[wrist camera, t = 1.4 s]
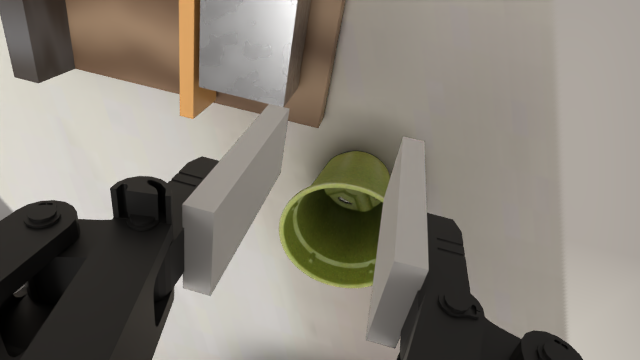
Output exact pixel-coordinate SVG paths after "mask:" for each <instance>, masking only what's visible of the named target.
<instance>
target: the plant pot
mask: <svg viewBox="0 0 640 360" xmlns="http://www.w3.org/2000/svg"><path fill="white" fill-rule="evenodd" d="M389 180H390V175H389V172H388V170H387V168H386V167H385V165H384V164H383V163H382V162H381V161H380V160H379V159H378V158H376V157H374V156H373V155H371V154H368V153H365V152H360V151H352V152H347V153H343V154H340V155H337V156H335V157H334V158H332V159H331V160H330V161H329V162H328V164H327V165H326V166H325V168H324V169H323V170H322V172H321V173H320V175H319V176H318V177H317V179H316V180H315V181H314V182H313V184H312V185H311V186H310V187H307V188H305V189H303V190H302V191H300V192H299V193H297V194H296V195H295V196H294V197H293V198H292V199H291V200H290V201H289V202H288V204H287V205H286V207H285V208H284V210H283V212H282V215H281V218H280V222H279V236H280V241H281V244H282V246H283V249H284V251H285V253H286V254H287V256H288V257H289V259H290V260H291V261H292V263H293V264H294V265H295V266H296V267H297V268H298V269H300V270H301V271H302V272H303V273H305V274H306V275H308V276H309V277H311V278H313V279H315V280H317V281H319V282H322V283H325V284H327V285H331V286H335V287H342V288H363V287H369V286H372V285H373V279H374V271H375V263H376V255H377V248H378V240H379V232H380V224H381V216H382V208H383V201H384V197H385V193H386V190H387V187H388V184H389ZM339 197H342V198H343V199H345V200H347V201H349V202H350V203H352V204H347V203H344V202H342V201H340V200H339ZM375 198H376V199H375Z"/></svg>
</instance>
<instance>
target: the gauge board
mask: <svg viewBox="0 0 640 360" xmlns="http://www.w3.org/2000/svg"><path fill="white" fill-rule="evenodd" d="M344 6H345V0H311V3H310V10H309V17H308V23H307V30H306V37H305V44H304V50H303V57H302V64H301V71H300V77H299V84H298V89H297V90H296V92H295V93H294V94H293V96H292V97H291V98H290V100H289V101H288V102H287V103H286V105H285V106H284V107H285V108H289V116H288V121H291V122H295V123H299V124H303V125H308V126H312V127H316V128H319V126H320V124H321V122H322V120H323V116H324V111H325V106H326V100H327V95H328V90H329V85H330V79H331V74H332V69H333V64H334V58H335V53H336V48H337V42H338V37H339V32H340V27H341V21H342V16H343V11H344ZM0 15H1V20H2V24H3V28H4V33H5V37H6V42H7V46H8V50H9V55H10V59H11V64H12V68H13V72H14V77H16V78H20V79H24V80H28V81H32V82H36V83H40V82H43V81H45V80H48V79H50V78H53V77H55V76H58V75H60V74H63V73H65V72H68V71H70V70H73V69H79V70H83V71H87V72H91V73H95V74H100V75H104V76H108V77H112V78H116V79H120V80H124V81H128V82H132V83H136V84H140V85H144V86H148V87H153V88H157V89H161V90H165V91H169V92H173V93H177V94H180V67H179V0H0ZM214 103H218V104H222V105H226V106H230V107H234V108H238V109H242V110H246V111H250V112H255V113H259V114H261V113H262V112H263V110H264V109H265V108H266V107H267V106H268V105H269V104H267V103H263V102H259V101H255V100H251V99H246V98H242V97H238V96H234V95H230V94H226V93H222V92H218V91H216V100H215V101H214Z"/></svg>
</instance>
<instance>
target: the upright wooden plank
mask: <svg viewBox="0 0 640 360" xmlns="http://www.w3.org/2000/svg"><path fill="white" fill-rule="evenodd" d="M199 52H200V0H179V67H180V116H184V117H188V118H192V119H194V118H195V117H196V116H197V115H198V114H200V113H201V112H202V111H203V110H204V109H206V108H207V107H208V106H209V105H210V104H212V103H213V102H214V101H215V100H216V91H214V90H209V89H205V88H201V87H199Z"/></svg>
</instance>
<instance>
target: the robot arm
mask: <svg viewBox="0 0 640 360" xmlns="http://www.w3.org/2000/svg"><path fill="white" fill-rule="evenodd" d="M288 116H289V108H285V107H281V106H277V105H273V104H269V105H268V106H267V107H266V108H265V109H264V110H263V112H262V113H261V114H260V115H259V116H258V117H257V118H256V120H255V121H254V122H253V123H252V124H251V125H250V127H249V128H248V129H247V130H246V131H245V132H244V134H243V135H242V136H241V137H240V138H239V139H238V140H237V142H236V143H235V144H234V145H233V146H232V147H231V149H230V150H229V151H228V152H227V153H226V154H225V156H224V157H223V158H222V159H221V160H220V161H218V160H214V159H210V158H206V157H200V158H198V159H195V160H193V161H191V162H188V163H187V164H186V165H185V166H184V167H183V168H182V169H181V170H180V171H179V174H178V173H177V174H176V175H175V176H174V177H173V178H172V180H171V181H169V182H168V183H166V182H165V181H163V180H161V179H158V178H154V177H148V176H137V177H132V178H127V179H124V180H122V181H119V182H117V183H116V184H115V185H114V186H112V187H111V188H110V190H111V199H112V207H113V216H114V218H113V219H112V220H85V219H78V216H77V211H76V210H75V208H74V207H73V206H72V205H70V204H68V203H66V202H61V201H55V200H51V201H40V202H36V203H32V204H28V205H26V206H24V207H22V208H20V209H18V210H16V211H15V212H13V213H12V214H10V215H9V216H7V217H6V218H4V219H3V220H1V221H0V360H152V358H153V355H154V352H155V350H156V347H157V344H158V341H159V339H160V336H161V333H162V330H163V328H164V325H165V322H166V320H167V317H168V314H169V311H170V309H171V306H172V303H173V300H174V286H175V284H176V283H177V281H178V280H179V278H180V277H181V275H182V274H183V288H184V289H188V290H191V291H195V292H198V293H202V294H206V295H209V296H211V294H212V292H213V291H214V289H215V287H216V285H217V284H218V282H219V280H220V278H221V277H222V275H223V273H224V271H225V270H226V268H227V266H228V264H229V262H230V261H231V259H232V257H233V255H234V254H235V252H236V250H237V248H238V247H239V245H240V243H241V241H242V240H243V238H244V236H245V234H246V233H247V231H248V229H249V227H250V226H251V224H252V222H253V220H254V219H255V217H256V215H257V213H258V212H259V210H260V208H261V206H262V205H263V203H264V201H265V199H266V197H267V196H268V194H269V192H270V190H271V189H272V187H273V185H274V183H275V182H276V180H277V178H278V176H279V175H280V173H281V166H282V159H283V152H284V145H285V138H286V130H287V123H288ZM464 255H465V253H464V247H463V239H462V232H461V231H460V229H459V228H458V226H457V225H456V223H455V222H454V221H453V220H452V219H448V218H445V217H441V216H437V215H433V214H429V213H427V202H426V171H425V141H421V140H417V139H413V138H408V137H404V136H403V138H402V142H401V145H400V148H399V151H398V154H397V158H396V161H395V164H394V167H393V171H392V174H391V177H390V180H389V184H388V187H387V190H386V193H385V197H384V201H383V208H382V216H381V224H380V232H379V240H378V248H377V255H376V263H375V271H374V279H373V287H372V295H371V302H370V310H369V318H368V326H367V334H366V340H367V341H371V342H374V343H378V344H382V345H385V346H389V347H392V348H396V346H397V343H398V341H399V339H400V336H401V340H400V353H399V355H398V357H397V360H583V359H582V358H581V356H580V354H579V353H577V351H576V350H575V349H573V347H572V346H571V345H569V344H568V343H566V342H565V341H563V340H562V339H560V338H559V337H557V336H555V335H552V334H550V333H547V332H544V331H531V332H528V333H526V334H525V335H524V336H523V338H522V339H520V338H518V337H516V336H514V335H512V334H511V333H509V332H507V331H505V330H503V329H501V328H499V327H498V326H496V325H495V324H493V323H491V322H490V321H489V320H488V319H486V318H485V317H484V311H483V308H482V307H481V305H480V303H479V302H478V300H477V299H476V298H475V297H474V296H472V295H471V294H470V287H469V280H468V274H467V267H466V260H465V257H464ZM24 284H25V287H23V288H22V289H21V290H20V291H18V292H17V293H15V294H13V293H14V292H16V291H17V290H18V289H19V288H20V287H21V286H23V285H24Z"/></svg>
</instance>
